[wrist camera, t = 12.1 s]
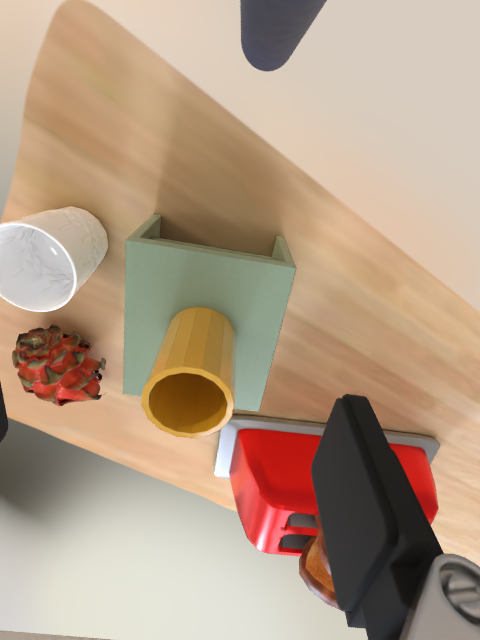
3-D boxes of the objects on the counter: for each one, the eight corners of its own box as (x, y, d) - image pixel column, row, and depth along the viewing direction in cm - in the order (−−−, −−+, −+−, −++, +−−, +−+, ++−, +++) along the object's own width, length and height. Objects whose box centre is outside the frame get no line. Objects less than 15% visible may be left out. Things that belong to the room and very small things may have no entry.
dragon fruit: (43, 302, 44) (113, 360, 50) (-14, 354, 41) (67, 408, 48) (51, 314, 37) (132, 380, 43) (-16, 376, 34) (79, 437, 41)
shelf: (153, 213, 37) (125, 239, 28) (283, 236, 38) (296, 268, 29) (146, 341, 44) (122, 393, 36) (255, 357, 46) (258, 412, 37)
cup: (168, 301, 31) (143, 360, 23) (241, 312, 31) (241, 374, 23) (163, 361, 34) (139, 432, 26) (230, 370, 34) (226, 443, 26)
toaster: (439, 435, 52) (532, 578, 35) (407, 491, 58) (474, 636, 41) (223, 411, 50) (213, 550, 33) (213, 471, 56) (201, 615, 39)
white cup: (118, 273, 40) (83, 314, 31) (48, 270, 40) (-7, 310, 31) (109, 202, 36) (67, 224, 28) (32, 198, 36) (-35, 219, 27)
